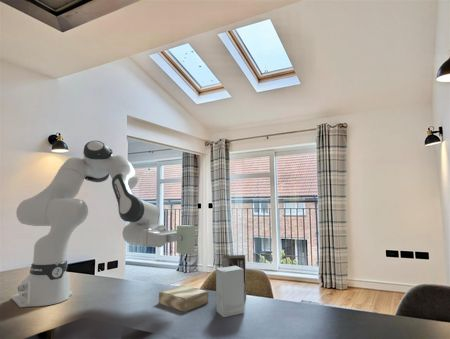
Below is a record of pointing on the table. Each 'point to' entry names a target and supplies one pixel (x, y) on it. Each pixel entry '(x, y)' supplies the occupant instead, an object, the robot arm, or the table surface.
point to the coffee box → (236, 261)
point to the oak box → (183, 297)
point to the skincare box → (230, 291)
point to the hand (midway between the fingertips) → (186, 237)
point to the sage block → (186, 239)
